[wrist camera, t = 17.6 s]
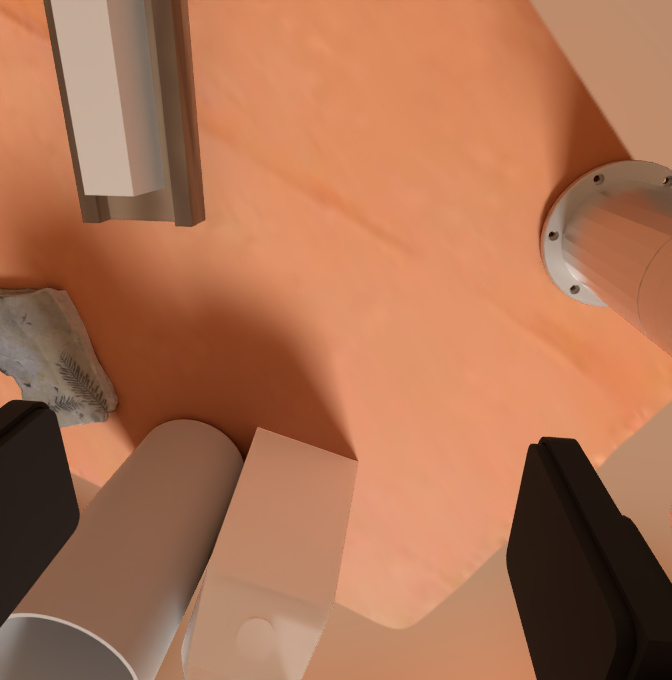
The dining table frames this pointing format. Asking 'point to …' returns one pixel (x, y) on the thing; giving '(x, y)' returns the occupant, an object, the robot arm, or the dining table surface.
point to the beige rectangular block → (110, 94)
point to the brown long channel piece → (173, 125)
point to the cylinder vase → (127, 563)
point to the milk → (272, 564)
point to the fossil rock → (53, 356)
